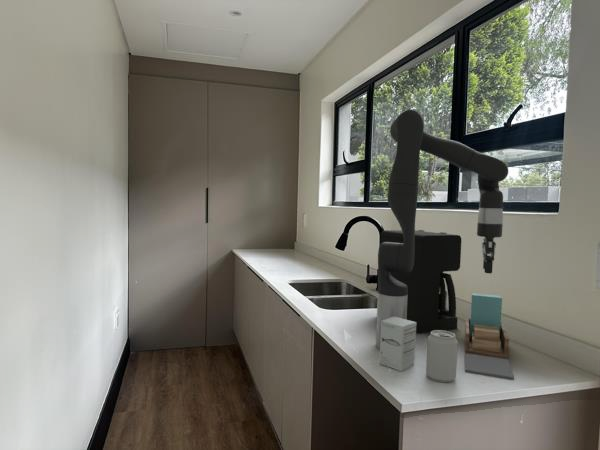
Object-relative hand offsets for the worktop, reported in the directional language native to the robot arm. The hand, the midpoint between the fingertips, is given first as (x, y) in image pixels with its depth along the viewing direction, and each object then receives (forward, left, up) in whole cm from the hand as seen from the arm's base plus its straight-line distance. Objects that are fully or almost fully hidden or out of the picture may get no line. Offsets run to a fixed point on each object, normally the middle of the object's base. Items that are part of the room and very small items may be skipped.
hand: (487, 271), depth 139 cm
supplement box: (-32, +24, -24) cm, 47 cm away
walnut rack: (-5, 0, -24) cm, 25 cm away
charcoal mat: (-22, 0, -24) cm, 33 cm away
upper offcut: (-8, 0, -20) cm, 21 cm away
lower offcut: (-8, 0, -23) cm, 24 cm away
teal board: (0, 0, -23) cm, 23 cm away
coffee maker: (+14, +22, -24) cm, 35 cm away
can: (-36, +12, -24) cm, 45 cm away
